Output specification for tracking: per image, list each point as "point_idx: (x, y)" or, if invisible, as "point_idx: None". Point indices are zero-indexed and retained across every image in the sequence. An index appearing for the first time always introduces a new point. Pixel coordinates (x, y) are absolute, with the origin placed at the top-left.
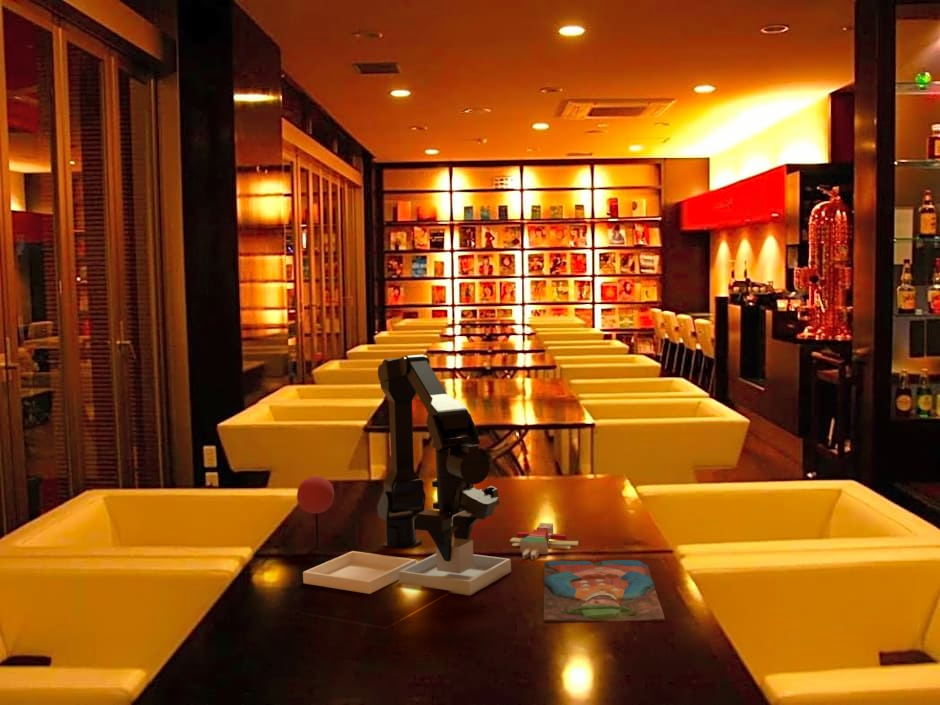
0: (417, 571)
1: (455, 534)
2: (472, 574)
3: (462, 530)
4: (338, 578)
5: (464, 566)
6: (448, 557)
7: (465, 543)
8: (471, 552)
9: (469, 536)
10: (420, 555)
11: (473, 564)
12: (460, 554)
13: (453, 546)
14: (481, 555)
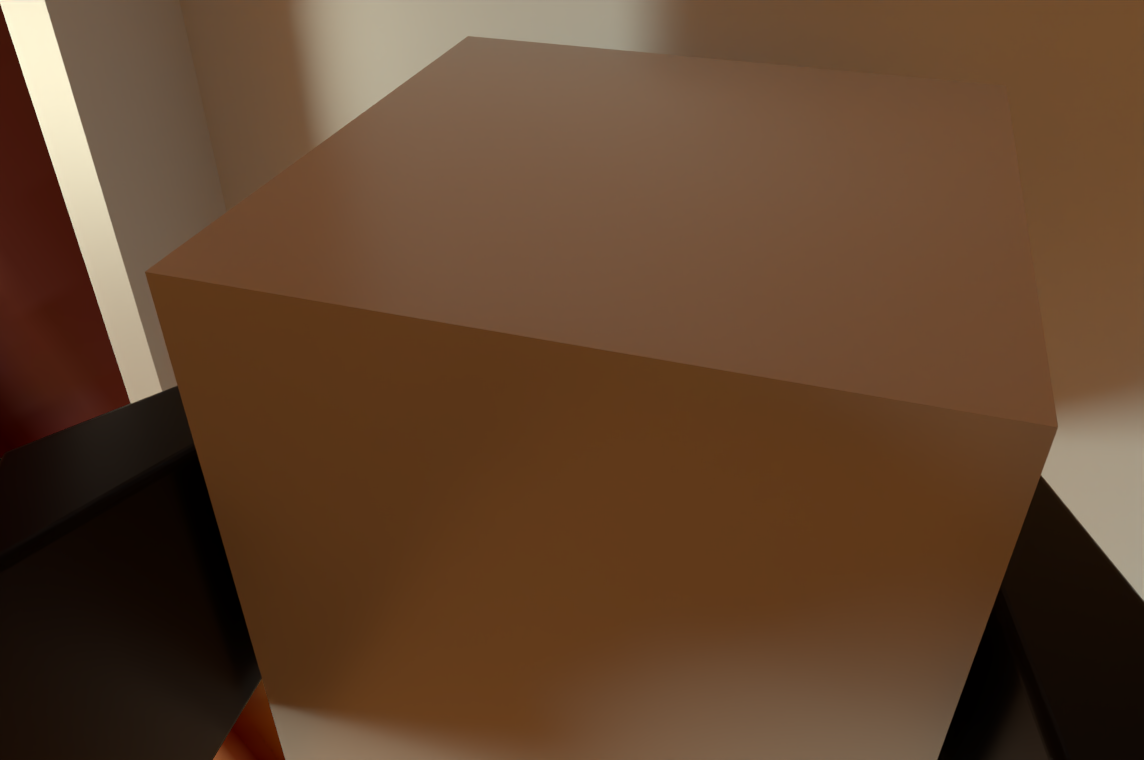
0: None
1: (194, 747)
2: (552, 13)
3: (35, 718)
4: None
5: (801, 100)
6: (1045, 493)
7: (555, 357)
8: (402, 150)
9: (23, 447)
10: (238, 727)
11: (465, 46)
12: (966, 265)
13: (986, 597)
14: (47, 116)
